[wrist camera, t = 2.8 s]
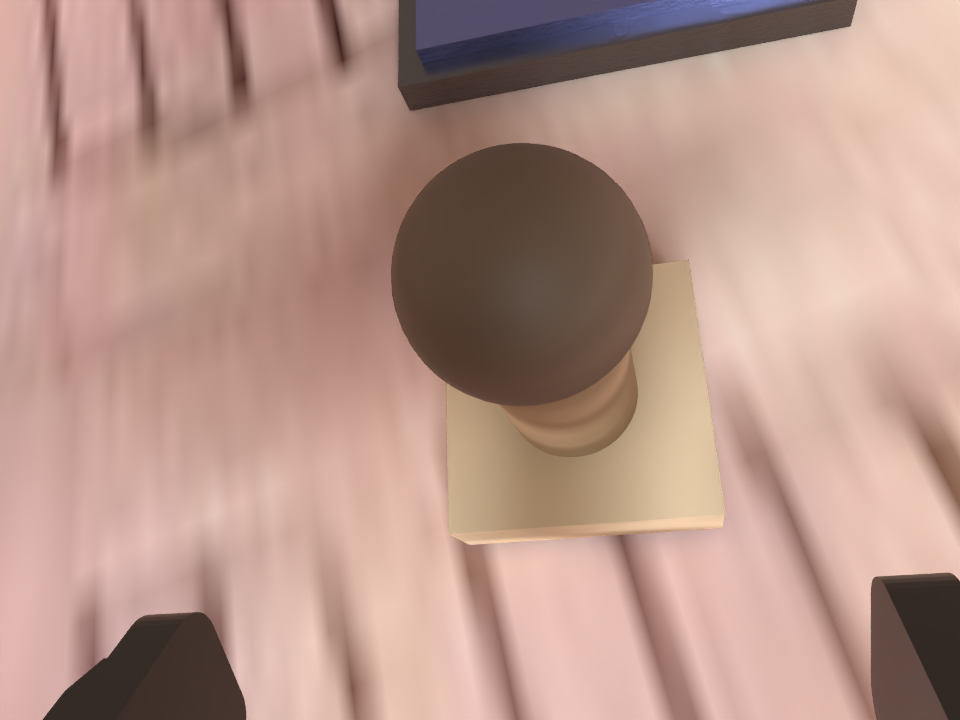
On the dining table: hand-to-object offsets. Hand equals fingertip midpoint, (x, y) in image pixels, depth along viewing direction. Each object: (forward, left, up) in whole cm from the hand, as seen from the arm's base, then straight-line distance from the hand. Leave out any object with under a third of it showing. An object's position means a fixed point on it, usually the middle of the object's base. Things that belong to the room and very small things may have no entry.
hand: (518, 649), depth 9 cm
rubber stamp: (0, -6, -11) cm, 12 cm away
